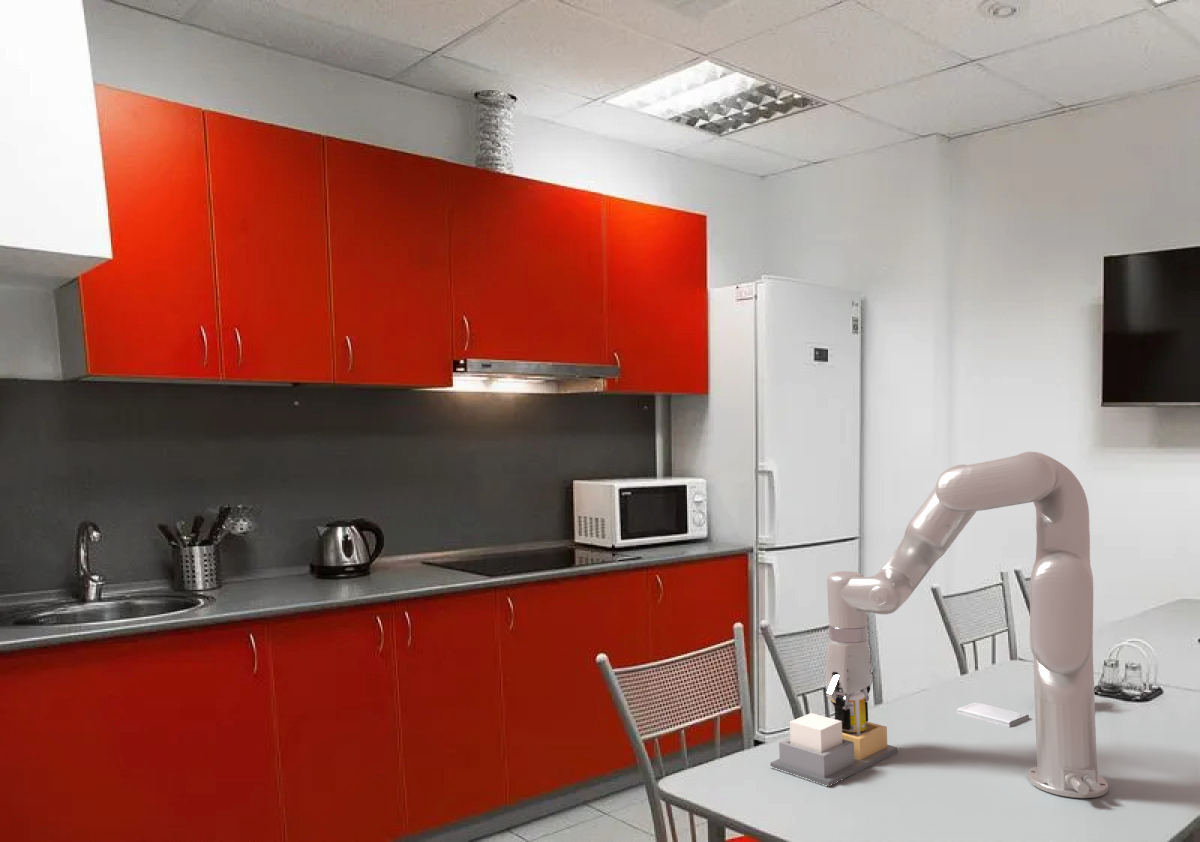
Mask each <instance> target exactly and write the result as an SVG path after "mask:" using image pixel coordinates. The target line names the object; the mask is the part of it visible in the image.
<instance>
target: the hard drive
mask: <svg viewBox="0 0 1200 842" xmlns="http://www.w3.org/2000/svg"><path fill="white" fill-rule="evenodd" d="M956 714H958V715H962V716H965V717H969V718H973V719H977V720H981V721H984V722H989V723H992V724H996V725H998V726H1004V727H1006V728H1011V727H1013V726H1016V725H1019V724H1021V723H1023V722H1026V721H1027V720H1030V715H1029V714H1026V713H1022V712H1018V711H1014V710H1010V709H1006V708H1002V707H998V706H993V705H991V704H985V703H981V702H977V701H974V702H971V703H969V704H966V705H964V706H960V707H958V708H957V709H956Z"/></svg>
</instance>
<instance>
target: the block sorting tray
mask: <svg viewBox="0 0 1200 842" xmlns="http://www.w3.org/2000/svg"><path fill="white" fill-rule="evenodd" d="M778 743H779V744H778V745H779V746H778V748H779V749H778V750H779V751H778V752H779V758H778V759H776V760H774V761H771V762H770V766H772V767H774V768H777V769H780V770H783V771H786V772H789V773H792V774H795V775H798V776H801V777H804V778H807V779H810V780H812V781H815V782H818V783H821V784H824V785H827V786H830V785H831V784H834V783H836V782H837V781H840V780H841V779H844V778H846V777H848V776H849V775H852V774H854V773H856V772H858V771H859V772H862V771H863V770H865V769H867V768H870V767H871V766H873V765H875V764H877V763H879V762H881V761H883V760H885V759H886V758H889V757H890V756H893V755H894V754H897V753H898V747H897V746H894V745H891V744H890V745H889V744H888V726H885V725H882V724H879V723H875V722H874V723H873V722H871V721H867V722H866V733H865V734H863V735H860V736H858V737H857V736H853V735H849V734H846V733H842V721H839V720H835V718H830V717H828V716H824V715H820V714H816V713H812V712H809V713H808V714H805V715H803V716H800V717H798V718H796V719H793V720H790V721H789V738H787V739H784V740H782V741H780V742H778ZM864 768H865V769H864ZM862 769H863V770H862ZM859 772H858V773H859ZM856 774H857V773H856ZM854 775H855V774H854ZM852 776H853V775H852ZM848 778H849V777H848ZM846 779H847V778H846ZM844 780H845V779H844ZM840 782H841V781H840ZM836 784H837V783H836ZM834 785H835V784H834ZM830 787H831V786H830Z"/></svg>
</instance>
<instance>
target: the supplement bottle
mask: <svg viewBox="0 0 1200 842" xmlns="http://www.w3.org/2000/svg"><path fill="white" fill-rule="evenodd" d="M840 692H843V689H840ZM839 698H841V700H842V701H843V699H844V696H842V695H840V697H839ZM848 709H850V721H851V729H850V730H846V729H842V733H846V734H849V735H853V736H857V737H858V736H860V735H863V734H865V733H866V712H865V695H864V693H863V692H862V691H860V690H859V691H857V692H855V693H852V694H850V696H849V703H848Z"/></svg>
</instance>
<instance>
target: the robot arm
mask: <svg viewBox="0 0 1200 842" xmlns="http://www.w3.org/2000/svg"><path fill="white" fill-rule="evenodd" d="M1029 503H1033V504H1034V507H1035V513H1036V518H1035V521H1036V525H1035V526H1036V527H1035V528H1036V529H1035V531H1036V550H1035V552H1036V553H1035V561H1034V564H1033V566H1032V570H1031V573H1030V583H1029V584H1030V585H1029V586H1030V587H1029V588H1030V590H1029V591H1030V592H1029V593H1030V594H1029V646H1030V647H1029V648H1030V650H1031V653H1032V656H1033V679H1034V680H1033V683H1034V684H1033V687H1034V716H1035V719H1034V720H1035V739H1036V740H1035V741H1036V763H1037V764H1036V765H1037V766H1033V767H1031V768H1030V769H1029V770H1028V774H1027V777H1028V781H1029V782H1030V784H1031V785H1033V787H1036V788H1038V789H1039V790H1042V791H1044V792H1046V793H1049V794H1053V795H1056V796H1062V797H1067V798H1073V799H1075V798H1076V799H1093V798H1099V797H1102V796H1104V795H1105V794H1107V793H1108V791H1109V784H1108V781H1107V780H1106V778H1105V779H1104V778H1103V777H1102V776H1101V775H1099V774H1098V759H1097V758H1098V756H1097V753H1098V752H1097V735H1096V734H1097V731H1096V730H1097V729H1096V710H1095V709H1096V706H1095V705H1096V703H1095V701H1096V700H1095V697H1096V696H1095V678H1094V675H1095V674H1094V641H1093V640H1094V639H1093V638H1094V575H1093V571H1092V567H1091V551H1090V550H1091V535H1090V533H1091V532H1090V510H1089V502H1088V498H1087V495H1086V492H1085V490H1084V488H1083V485H1082V484H1081V482H1080V481H1079V479H1078V478H1077V476H1076V475H1075V473H1073V472H1072V471H1071V469H1069V468H1068V467H1067V466H1066V465H1064V464H1063V463H1062V462H1060V461H1059V460H1056V459H1055V458H1053V457H1051V456H1049V455H1047V454H1044V453H1041V452H1037V451H1026V452H1021V453H1019V454H1016V455H1013V456H1007V457H1003V458H998V459H993V460H989V461H984V462H977V463H971V464H958V465H954V466H951V467H949V468H947V469H945V471H943V472H941V474H940V475H939V477H938V478H937V481H936V484H935V487H934V488H933V490H932V491H931V492H930V494H928V497H927V498H926V500H924V502H923V503H922V505H921V506H920V507H919V508H918V510H917V511H916V513H914V514H913V516H912V518H911V519H910V520H909V522H908V523H907V525H906V527H905V530H904V533H903V534H904V535H903V537H902V540H901V541H900V543H899V544H898V546H897V547H896V549H895V551H894V552H893V553H892V555H891V556H890V557H889V558H888V560H887V561H886V563H885V564H884V565H883V566H882V568H880V570H879V572H877V573H876V574H874V575H872V576H864V575H863V574H862V573H861V572H860V573H859V572H857V571H847V570H846V571H835V572H831V573H830V574H829V575H828V576H827V579H826V586H827V590H826V591H827V609H828V611H827V612H828V613H827V614H828V636H829V638H828V639H829V642H828V644H827V649H826V657H825V658H826V659H825V688H826V690H827V691H826V697H827V698H828V699H829V701H830V702H831V703H832V708H834V719H835V720H839V721H842V729H846V730H850V729H851V721H850V709H848V703H849V696H850V694H852V693H855V692H857V691H859V690H860V691H862V692H863V693H864V695H865V712H866V722H869V708H868V707H869V705H868V704H869V700H870V696H869V693H870V691H871V688H872V684H873V682H874V678H873V676H872V662H871V653H870V647H869V633H868V631H869V629H868V613H872V614H876V615H889V614H894V613H895V612H896V611H898V609H900V608H901V607H902V606H903V605H904V603H905V602H906V601H907V600H909V598H910V597H911V595H912V594H913V593H914V591H915V590H916V589H917V588H918V586H919V585H920V583H922V580H923V579H924V578H925V577H926V575H927V574H928V573H929V571H930V570H931V569H932V568H933V566H934V565H935V564H936V563H937V562H938V560H940V559H941V558H942V557H943V556H944V555H945V554H946V553H947V551H948V549H949V548H950V547H951V546H952V545H953V543H954V542H955V540H956V539H957V537H959V535H960V534H961V532H962V531H963V530H964V528H965V527H967V524H968V523H969V522H970V520H971V519H973V517H974V516H975V514H976V513H977V512H980V511H986V510H987V511H988V510H993V509H999V508H1005V507H1010V506H1018V505H1024V504H1029ZM840 689H843V692H840ZM840 695H842V696H844V699H843V701H842V700H841V698H839V697H840Z"/></svg>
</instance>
